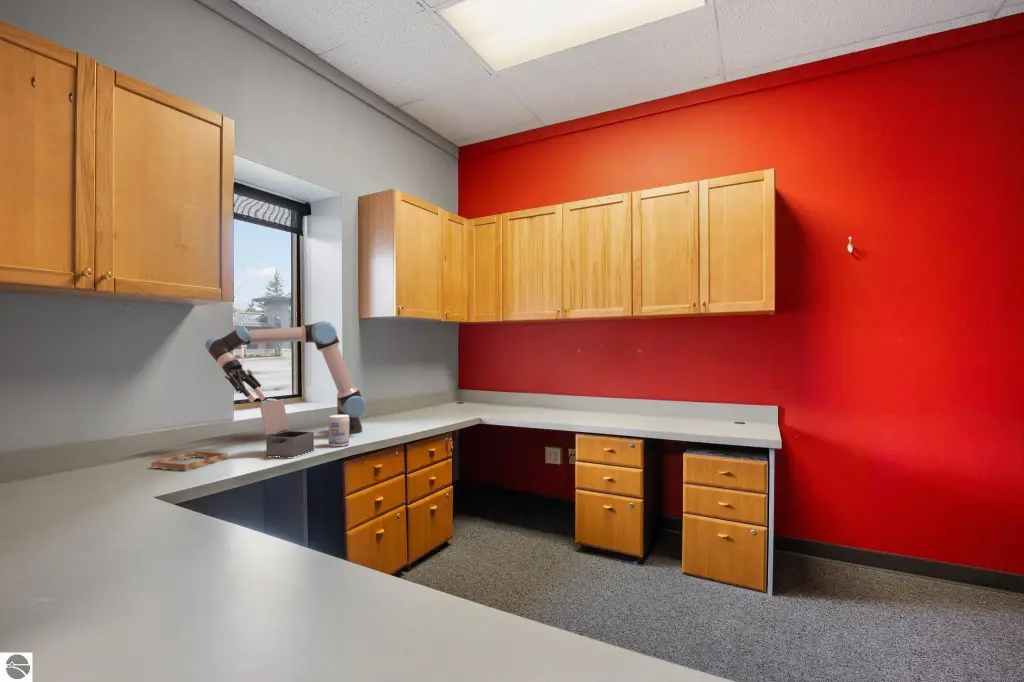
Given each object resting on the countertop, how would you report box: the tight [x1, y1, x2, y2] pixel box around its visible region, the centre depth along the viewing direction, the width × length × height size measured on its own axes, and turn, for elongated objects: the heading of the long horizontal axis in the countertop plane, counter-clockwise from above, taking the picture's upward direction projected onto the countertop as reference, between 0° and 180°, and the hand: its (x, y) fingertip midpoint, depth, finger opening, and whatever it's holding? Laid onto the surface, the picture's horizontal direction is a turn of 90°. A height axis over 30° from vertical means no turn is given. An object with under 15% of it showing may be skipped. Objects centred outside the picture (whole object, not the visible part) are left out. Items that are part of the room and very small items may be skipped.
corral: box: [150, 450, 229, 472], centre depth 203 cm, size 20×18×2 cm
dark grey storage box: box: [265, 430, 315, 458], centre depth 220 cm, size 19×14×9 cm
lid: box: [259, 399, 290, 436], centre depth 222 cm, size 14×15×2 cm
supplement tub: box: [328, 414, 350, 448], centre depth 238 cm, size 10×10×15 cm
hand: (258, 399), depth 224 cm, fingers open, 6 cm apart
